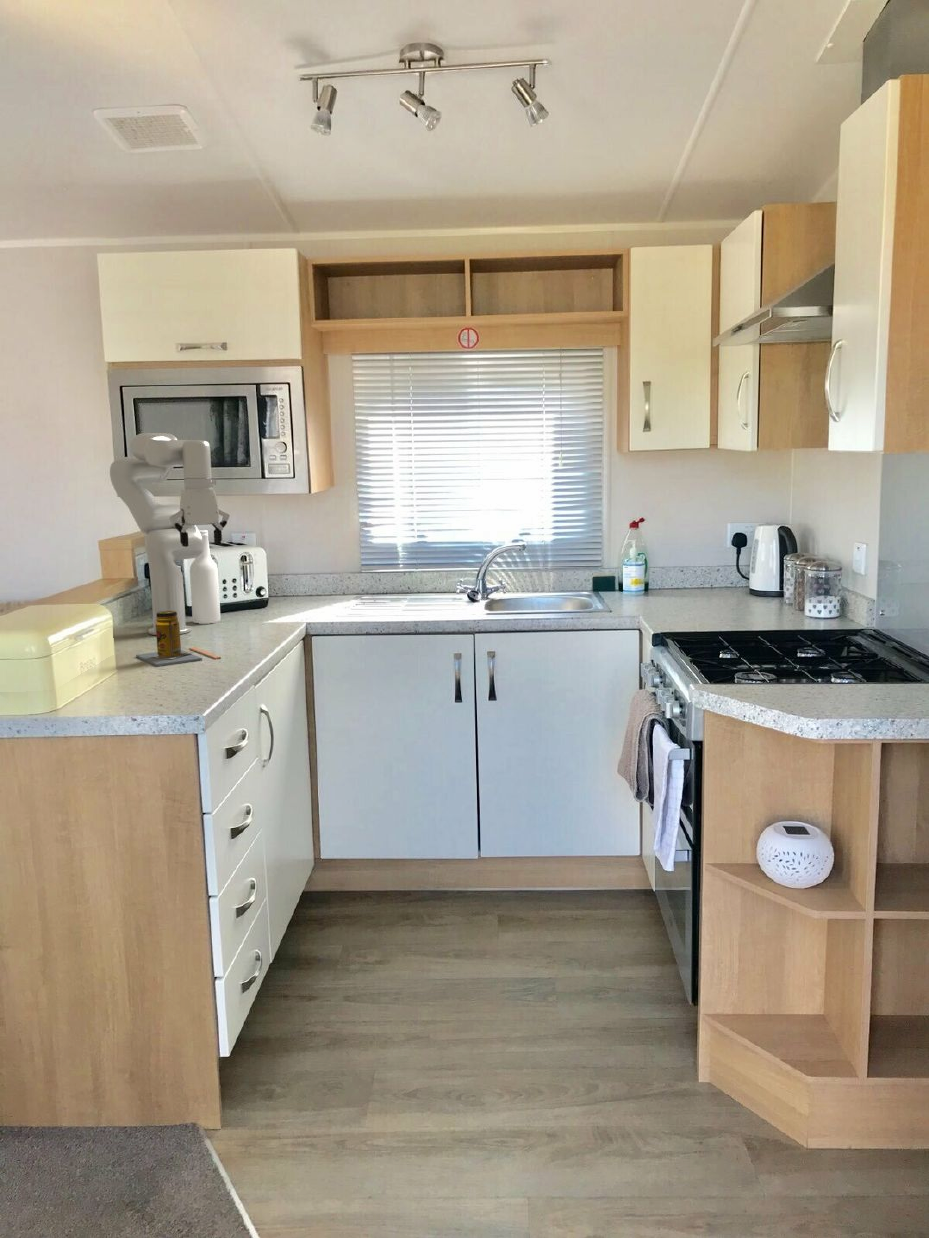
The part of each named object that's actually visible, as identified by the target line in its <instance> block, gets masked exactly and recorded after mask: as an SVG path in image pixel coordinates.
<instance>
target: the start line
mask: <svg viewBox="0 0 929 1238" xmlns="http://www.w3.org/2000/svg"><path fill="white" fill-rule="evenodd" d="M189 650H191V651H193V652H195V653H198V654H201V655H204V656H207V657H208V658H210V659H213V660H218V659H221V656H219V655H216V654H214V653H210V652H209V651H205V650H203V649H202V648H198V647H195V646H193V647H192V646H191V647H189Z"/></svg>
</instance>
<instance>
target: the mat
mask: <svg viewBox="0 0 929 1238" xmlns="http://www.w3.org/2000/svg"><path fill="white" fill-rule="evenodd" d="M181 652H185V653H189V652H188V651H186V650H183V649H181ZM135 655H136V656H135V657H136V658H138V659H139V660H142V661H144V662H147V663H149V664H151V665H153V666H156V667H164V666H171V665H178V664H185V663H193V662H200V660H201V661H202V660H203V658H202V657H201V656H197V655H196V654H193V653H191V654H188V655H184V656H181V657H177V658H173V659H164V658H156V657H154V656H157V655H158V651H154V652H146V653H138V654H135Z"/></svg>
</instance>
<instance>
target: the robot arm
mask: <svg viewBox="0 0 929 1238" xmlns="http://www.w3.org/2000/svg"><path fill="white" fill-rule="evenodd" d="M129 451H130V453H131V454H132V456H125V457H120V458H116V459H115V460H114V461H113V462H112V463H111V465H110V467H109V478H110V482H111V484H112V485H111V486H112V487H113V489H114V491H115V493H116V494H117V496H118V497H119V498H120V500H121V501H123V502H124V504H125V505H126V506H127V508H128V510H129V512H130V513H131V515H132V517H133V519H134V521H135V522H136V525H137V526H138V529H139V530H140V531H141V532H142V533H143V534H144V535H146V536H145V539H144V550H145V553H146V556H147V562H148V567H149V579H150V590H151V603H152V604H151V605H152V606H151V607H152V620H153V624H152V625H153V627H150V628H149V629H148V633H149V635H153V636H154V635H155V636H156V622H157V613H158V612H162V611H176V612H177V617H178V619H177V620H178V622H179V627H180V635H183V634H187V633H190V632H191V631H192V627H191V626H190V625H187V624H186V623H187V622H186V609H185V607H186V606H185V590H184V589H185V587H184V575H183V572H182V571H181V568H180V567H178V565H177V564H176V562H175V561H178V560H182V561H183V560H190V559H191V560H192V559H195V558H197V557H199V556H200V555H201V554H202V553H203V551H204V541H203V537H202V535H201V533H200V531H199V530H200V529H199V527H198V526H207V525H211V526H212V527H213V528H214V530H213V542H214V544H215V545H222V541H223V537H222V536H223V534H222V533H223V532H222V531H223V530H224V528H225V527H226V526H227V524H228V521H229V518H230V514H229V513H227V512H224V511H222V510H221V509H219V505H218V500H217V499H218V498H217V495H216V491H215V489H214V487H213V486H216V485H217V480H216V479H213V477H212V463H211V462H212V460H211V459H212V458H211V445H210V443H209V442H208V441H207V440H205V439H203V440H201V439H200V440H199V439H197V440H196V439H194V440H192V439H178V438H177V437H176V436H175V435H173V434H172V433H167V432H166V433H165V432H164V433H163V432H157V433H156V432H153V433H152V432H144V433H139V434H137V435H134V437H132V438H131V440H130V444H129ZM174 467H177V468H178V467H182V469H183V483H184V484H183V485H184V489H181V493H180V504H160V503H158V502H157V500H156V498H155V496H154V494H153V493H151V491H149V490H148V489H146V487H144V486H142V485H143V484H148V485H149V484H163V483H164V482H166V481H167V480H168V478H169V477H170V475H171V472H172V471H173V468H174ZM220 517H222V519H221V521H220Z"/></svg>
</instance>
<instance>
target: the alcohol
mask: <svg viewBox="0 0 929 1238" xmlns="http://www.w3.org/2000/svg"><path fill="white" fill-rule="evenodd" d="M199 531H200V533H201V535H202V537H203V541H204V551H203V553H202V554H201V555H200V556H199V557H197V558H194V560H193V561H192V562H191V564H190V567H189V568H190V569H189V579H190V597H191V611H192V612H191V613H192V621H193V623H194V624H195V623H199V624H198V625H211V624H210V623H214V624H218V623H219V622H220V620H221V619H222V618H221V604H220V603H221V602H220V599H221V598H220V587H219V586H220V584H219V568H218V565H217V563H216V562H215V561H214V559H212V556H211V550H210V542H209V531H208V530H206V529H199Z"/></svg>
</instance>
